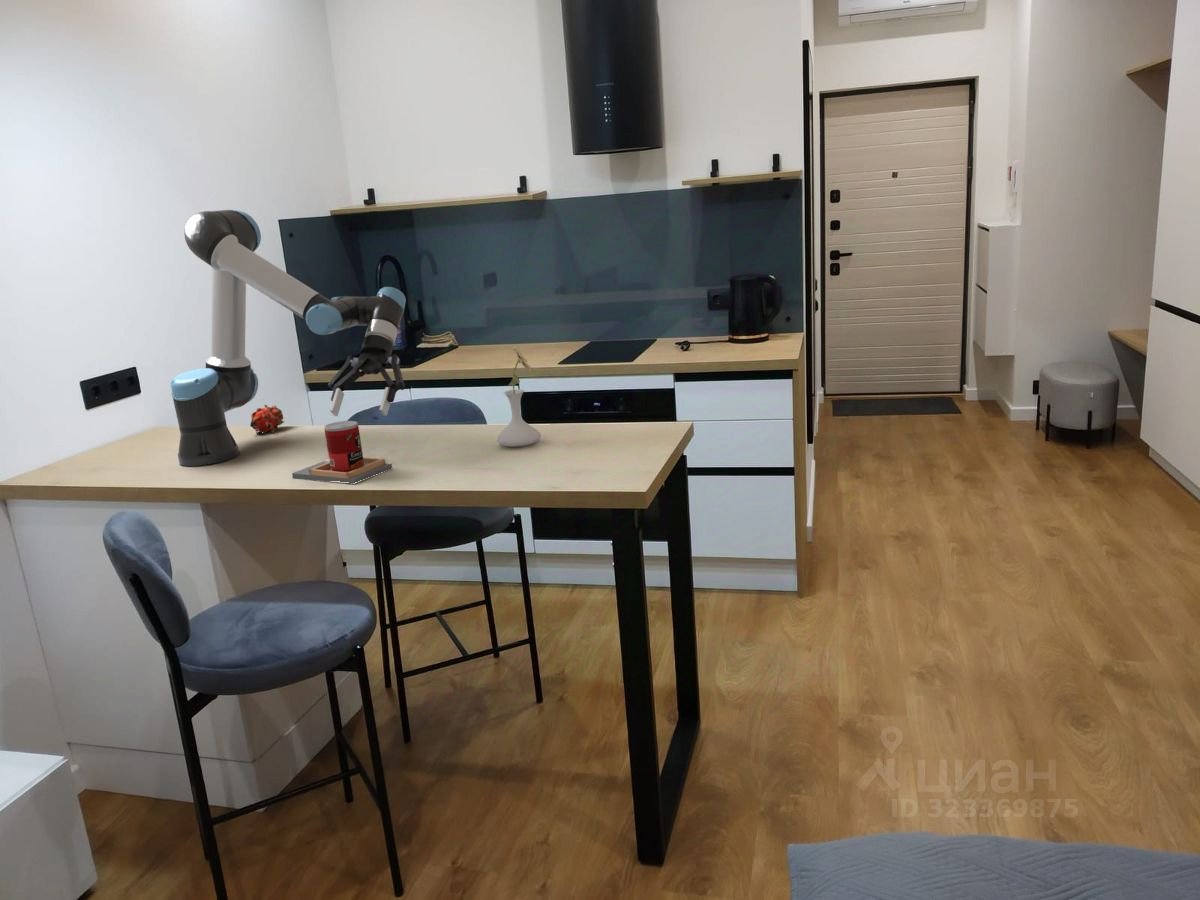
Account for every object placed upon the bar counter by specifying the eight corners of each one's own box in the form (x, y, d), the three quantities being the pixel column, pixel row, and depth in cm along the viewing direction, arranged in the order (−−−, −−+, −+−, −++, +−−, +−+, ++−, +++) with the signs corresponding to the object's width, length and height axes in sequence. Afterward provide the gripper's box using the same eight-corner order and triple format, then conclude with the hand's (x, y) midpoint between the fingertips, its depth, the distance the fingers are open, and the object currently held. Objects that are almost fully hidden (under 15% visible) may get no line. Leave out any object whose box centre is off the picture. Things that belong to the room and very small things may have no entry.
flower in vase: (531, 450, 230) (521, 350, 224) (489, 450, 234) (478, 352, 228) (550, 437, 242) (541, 341, 236) (510, 436, 246) (500, 343, 239)
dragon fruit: (288, 431, 282) (258, 447, 273) (267, 415, 284) (237, 430, 274) (294, 410, 277) (264, 426, 268) (273, 394, 279) (242, 409, 269)
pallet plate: (292, 477, 224) (291, 468, 223) (332, 462, 235) (330, 453, 234) (353, 484, 214) (352, 474, 213) (392, 468, 225) (390, 459, 224)
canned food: (356, 473, 219) (349, 428, 216) (325, 473, 220) (317, 429, 218) (370, 464, 226) (363, 420, 223) (340, 464, 228) (333, 421, 225)
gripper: (429, 348, 237) (410, 420, 227) (342, 351, 244) (320, 421, 234) (417, 331, 231) (397, 404, 221) (328, 334, 238) (305, 405, 228)
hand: (358, 413), depth 228 cm, fingers open, 13 cm apart
